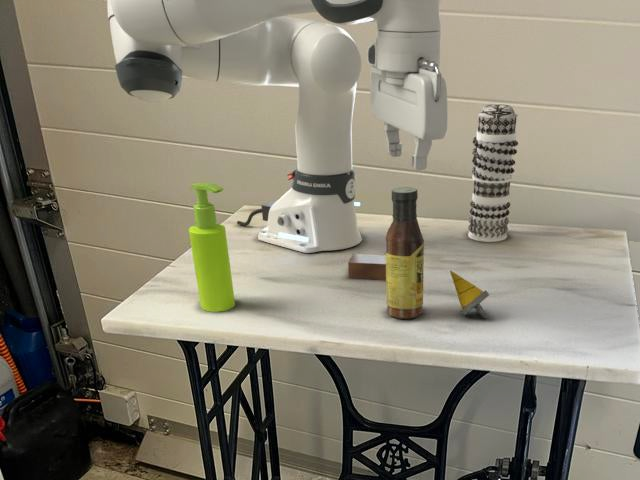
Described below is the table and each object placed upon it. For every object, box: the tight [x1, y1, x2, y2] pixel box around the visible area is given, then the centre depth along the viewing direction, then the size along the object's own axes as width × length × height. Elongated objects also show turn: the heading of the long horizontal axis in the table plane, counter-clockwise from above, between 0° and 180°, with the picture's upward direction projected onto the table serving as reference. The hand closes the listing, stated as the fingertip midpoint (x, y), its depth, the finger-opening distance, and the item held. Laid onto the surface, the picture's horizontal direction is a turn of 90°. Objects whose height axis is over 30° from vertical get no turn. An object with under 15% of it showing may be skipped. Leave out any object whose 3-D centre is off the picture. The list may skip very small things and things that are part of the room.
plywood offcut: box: [347, 253, 386, 281], centre depth 139 cm, size 8×5×3 cm, turn 83°
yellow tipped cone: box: [450, 270, 490, 319], centre depth 122 cm, size 5×5×10 cm
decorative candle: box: [467, 103, 519, 243], centre depth 151 cm, size 9×9×25 cm
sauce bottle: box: [385, 186, 425, 320], centre depth 119 cm, size 7×6×20 cm
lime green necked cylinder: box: [188, 181, 236, 313], centre depth 121 cm, size 6×7×20 cm
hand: (406, 162), depth 110 cm, fingers open, 8 cm apart
